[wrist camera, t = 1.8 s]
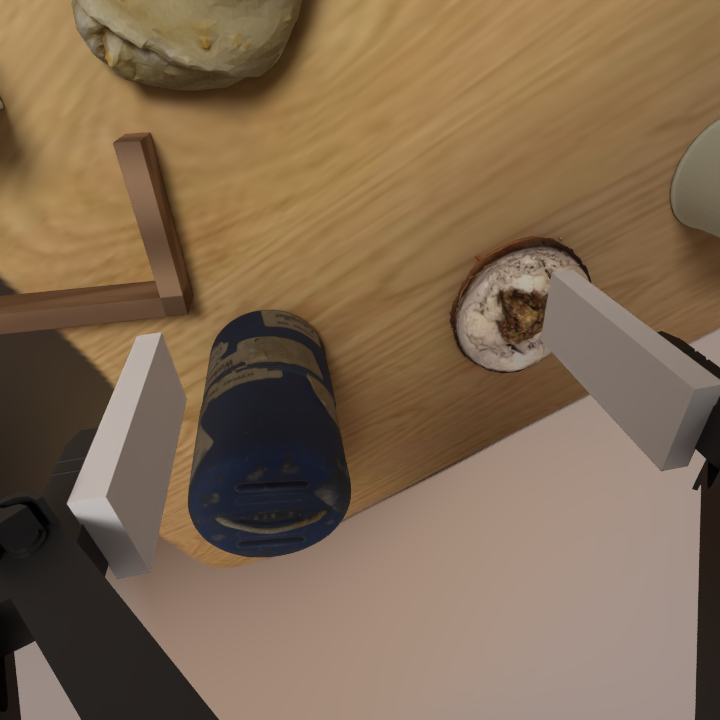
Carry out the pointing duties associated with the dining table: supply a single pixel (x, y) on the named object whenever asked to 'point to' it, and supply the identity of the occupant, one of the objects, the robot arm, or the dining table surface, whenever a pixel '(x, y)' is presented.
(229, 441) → the canister
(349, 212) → the dining table surface
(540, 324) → the sushi roll
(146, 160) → the bay
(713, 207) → the can
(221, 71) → the pastry
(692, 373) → the robot arm
